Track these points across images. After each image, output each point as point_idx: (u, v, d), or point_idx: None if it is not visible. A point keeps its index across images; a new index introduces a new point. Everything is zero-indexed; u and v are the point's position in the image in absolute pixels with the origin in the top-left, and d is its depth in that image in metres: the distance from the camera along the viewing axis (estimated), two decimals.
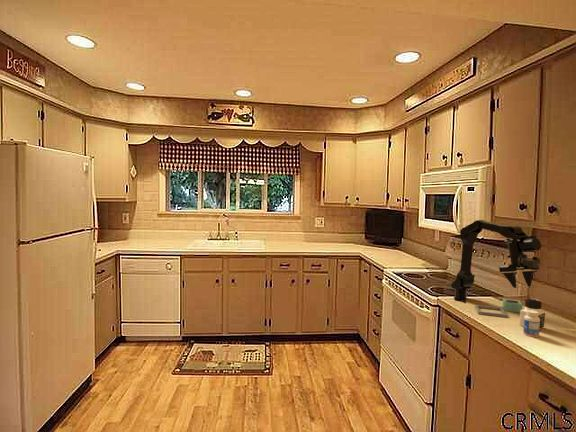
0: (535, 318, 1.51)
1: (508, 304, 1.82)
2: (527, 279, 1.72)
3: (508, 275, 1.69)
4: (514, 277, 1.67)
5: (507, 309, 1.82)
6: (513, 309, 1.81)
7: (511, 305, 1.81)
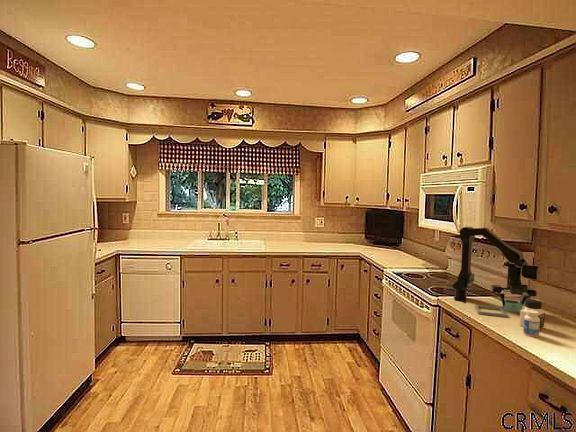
0: (535, 318, 1.51)
1: (508, 304, 1.82)
2: (520, 301, 1.83)
3: None
4: (502, 297, 1.84)
5: (507, 309, 1.82)
6: (513, 309, 1.81)
7: (511, 305, 1.81)
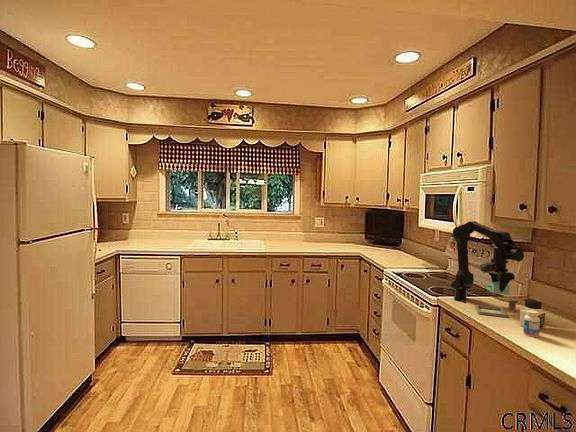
0: (535, 318, 1.51)
1: (488, 283, 1.83)
2: None
3: None
4: (491, 277, 1.85)
5: (488, 288, 1.83)
6: (490, 289, 1.81)
7: (489, 284, 1.81)
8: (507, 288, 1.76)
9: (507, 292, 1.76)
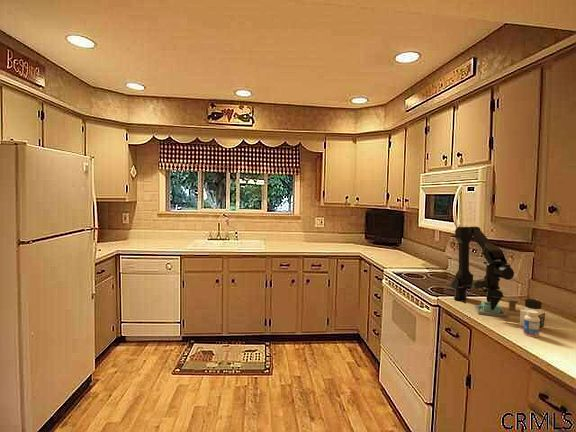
0: (535, 318, 1.51)
1: (481, 303, 1.83)
2: None
3: None
4: None
5: (481, 308, 1.83)
6: (482, 309, 1.81)
7: (482, 305, 1.82)
8: (498, 309, 1.75)
9: None
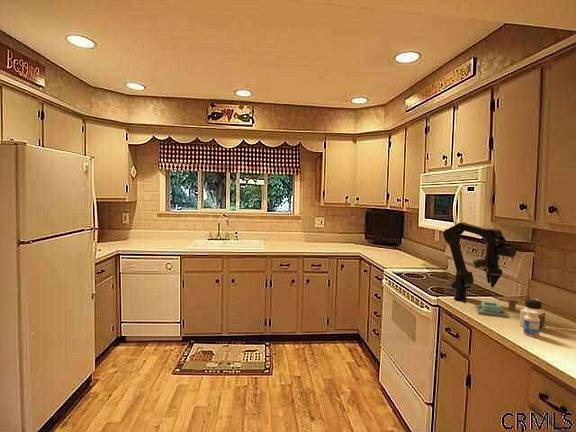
0: (535, 318, 1.51)
1: (481, 303, 1.83)
2: None
3: None
4: (486, 273, 1.92)
5: (481, 308, 1.83)
6: (482, 309, 1.81)
7: (482, 305, 1.82)
8: (498, 309, 1.75)
9: None
